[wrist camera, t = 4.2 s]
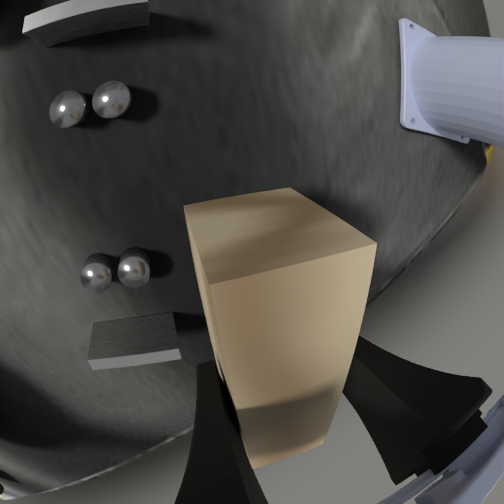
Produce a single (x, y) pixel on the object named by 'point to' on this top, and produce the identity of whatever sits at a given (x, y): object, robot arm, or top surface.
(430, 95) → the robot arm
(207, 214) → the oak block
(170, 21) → the top surface
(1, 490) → the brown rock
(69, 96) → the grey blocks and balls
